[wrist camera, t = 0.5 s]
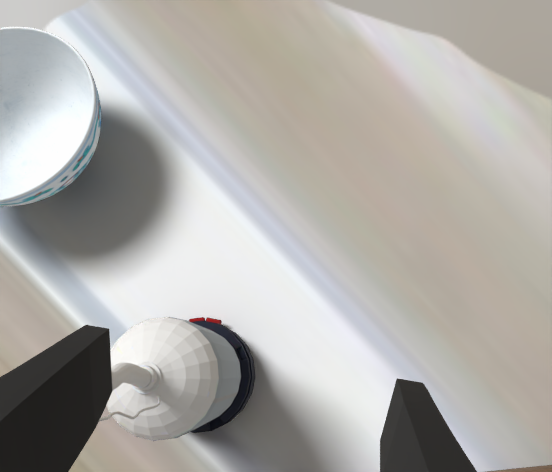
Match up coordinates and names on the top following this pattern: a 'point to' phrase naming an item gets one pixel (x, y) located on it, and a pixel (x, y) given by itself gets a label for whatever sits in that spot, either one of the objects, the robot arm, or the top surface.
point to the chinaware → (43, 115)
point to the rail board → (528, 469)
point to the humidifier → (178, 377)
